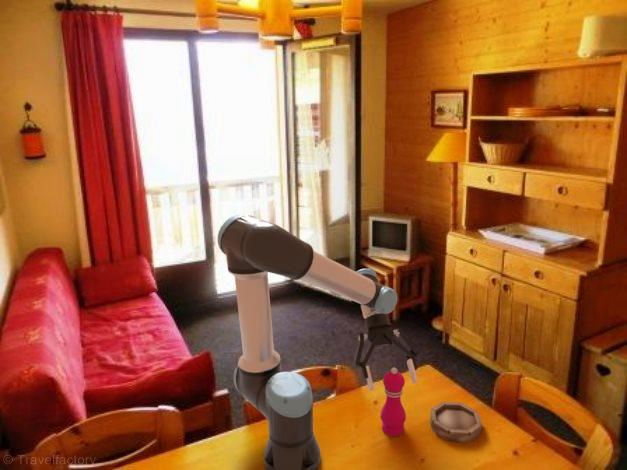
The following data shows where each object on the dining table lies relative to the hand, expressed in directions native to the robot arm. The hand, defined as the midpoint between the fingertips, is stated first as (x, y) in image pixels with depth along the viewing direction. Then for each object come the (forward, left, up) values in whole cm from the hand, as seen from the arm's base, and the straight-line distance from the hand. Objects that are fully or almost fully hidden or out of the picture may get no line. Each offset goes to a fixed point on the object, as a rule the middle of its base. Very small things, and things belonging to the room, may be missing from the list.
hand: (393, 385), depth 135 cm
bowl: (+18, 0, -12) cm, 22 cm away
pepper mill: (0, -3, -12) cm, 13 cm away
